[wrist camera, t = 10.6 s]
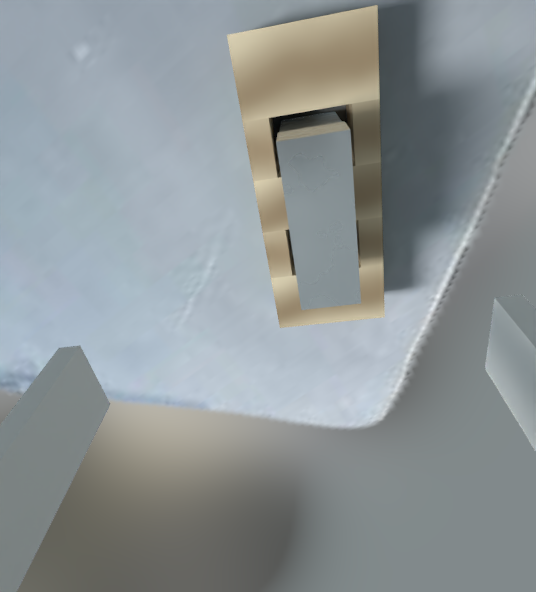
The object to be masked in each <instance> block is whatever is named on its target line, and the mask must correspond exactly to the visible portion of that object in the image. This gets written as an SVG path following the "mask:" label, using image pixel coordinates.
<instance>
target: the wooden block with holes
mask: <svg viewBox="0 0 536 592" xmlns="http://www.w3.org/2000/svg"><path fill="white" fill-rule="evenodd" d="M227 38H228V43H229V49H230V54H231V60H232V65H233V71H234V76H235V82H236V87H237V93H238V99H239V104H240V110H241V115H242V121H243V126H244V132H245V137H246V143H247V148H248V154H249V159H250V165H251V170H252V176H253V181H254V187H255V192H256V198H257V203H258V209H259V214H260V220H261V225H262V231H263V236H264V242H265V248H266V253H267V259H268V264H269V270H270V275H271V281H272V286H273V292H274V297H275V303H276V308H277V314H278V319H279V325H280V328H283V327H293V326H303V325H312V324H322V323H332V322H342V321H352V320H361V319H371V318H381V317H385V314H384V270H383V226H382V181H381V137H380V93H379V48H378V5H375V6H370V7H365V8H360V9H355V10H350V11H345V12H340V13H335V14H330V15H325V16H320V17H315V18H310V19H305V20H300V21H295V22H290V23H285V24H280V25H275V26H270V27H265V28H260V29H255V30H250V31H245V32H240V33H235V34H230V35H227ZM341 105H346V116H347V126H348V127H349V128H350V132H351V148H352V165H353V181H354V197H355V213H356V229H357V245H358V262H359V278H360V294H361V304H352V305H343V306H334V307H325V308H316V309H307V310H301V304H300V298H299V291H298V284H297V278H296V271H295V264H294V258H293V255H292V248H291V241H290V235H289V225H288V218H287V211H286V205H285V198H284V191H283V185H282V178H281V171H280V165H279V159H278V153H277V146H276V139H275V132H274V125H273V118H272V117H277V116H283V115H289V114H295V113H300V112H306V111H312V110H318V109H324V108H330V107H336V106H341Z"/></svg>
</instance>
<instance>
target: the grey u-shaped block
mask: <svg viewBox="0 0 536 592" xmlns="http://www.w3.org/2000/svg"><path fill="white" fill-rule="evenodd" d="M276 145H277V152H278V158H279V165H280V171H281V178H282V185H283V191H284V198H285V205H286V211H287V218H288V225H289V231H290V238H291V245H292V251H293V258H294V264H295V271H296V278H297V284H298V291H299V298H300V304H301V310H307V309H316V308H325V307H334V306H343V305H352V304H361V294H360V278H359V262H358V245H357V229H356V213H355V197H354V181H353V165H352V148H351V132H350V128H349V127H348V126H347V124H346V123H345V121H343V122H342V121H341V120H340V118H339V117H338V115H337V114H336V112H335V111H332V112H327V113H321V114H315V115H309V116H304V117H298V118H292V119H286V120H282V121H281V126H280V132H278V135H277V140H276Z"/></svg>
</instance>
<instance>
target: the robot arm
mask: <svg viewBox="0 0 536 592" xmlns="http://www.w3.org/2000/svg"><path fill="white" fill-rule="evenodd" d="M485 369H486V371H487V373H488V374H489V376H490V378H491V379H492V381H493V382H494V384H495V386H496V387H497V389H498V391H499V392H500V394H501V396H502V397H503V399H504V400H505V402H506V404H507V405H508V407H509V409H510V410H511V412H512V414H513V415H514V417H515V418H516V420H517V422H518V423H519V425H520V427H521V428H522V430H523V432H524V433H525V435H526V436H527V438H528V440H529V441H530V443H531V445H532V446H533V448H534V450H535V451H536V309H535V308H534V306H533V305H532V304H531V303H530V302H529V301H528V300H527V299H526V298H525V297H524V296H523V295H514V296H505V297H496V298H494V306H493V312H492V320H491V327H490V335H489V342H488V349H487V357H486V364H485ZM109 405H110V403H109V401H108V399H107V397H106V395H105V393H104V391H103V389H102V387H101V385H100V383H99V381H98V379H97V377H96V376H95V374H94V372H93V370H92V368H91V366H90V364H89V362H88V360H87V358H86V356H85V354H84V352H83V350H82V348H81V347H80V346H73V347H64V348H59V349H58V350H57V351H56V353H55V354H54V355H53V357H52V358H51V359H50V360H49V362H48V363H47V364H46V366H45V367H44V368H43V370H42V371H41V372H40V374H39V375H38V376H37V377H36V379H35V380H34V381H33V383H32V384H31V385H30V387H29V388H28V389H27V391H26V392H25V393H24V395H23V396H22V397H21V398H20V400H19V401H18V403H17V404H16V405H15V406H14V408H13V409H12V410H11V412H10V413H9V414H8V416H7V417H6V418H5V420H4V421H3V422H2V423H1V425H0V592H17V590H18V588H19V586H20V584H21V582H22V580H23V578H24V576H25V574H26V572H27V570H28V568H29V566H30V564H31V562H32V560H33V558H34V556H35V554H36V552H37V550H38V548H39V546H40V544H41V542H42V540H43V538H44V536H45V534H46V532H47V530H48V528H49V526H50V524H51V522H52V520H53V518H54V516H55V514H56V512H57V510H58V508H59V506H60V504H61V502H62V500H63V498H64V496H65V494H66V492H67V490H68V488H69V486H70V484H71V482H72V480H73V478H74V476H75V474H76V472H77V470H78V468H79V466H80V464H81V462H82V460H83V458H84V456H85V454H86V452H87V450H88V448H89V446H90V444H91V442H92V440H93V438H94V436H95V434H96V432H97V430H98V428H99V426H100V424H101V422H102V420H103V418H104V416H105V414H106V412H107V410H108V408H109Z"/></svg>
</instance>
